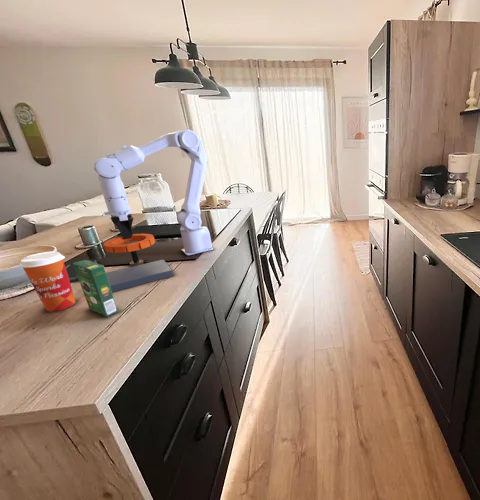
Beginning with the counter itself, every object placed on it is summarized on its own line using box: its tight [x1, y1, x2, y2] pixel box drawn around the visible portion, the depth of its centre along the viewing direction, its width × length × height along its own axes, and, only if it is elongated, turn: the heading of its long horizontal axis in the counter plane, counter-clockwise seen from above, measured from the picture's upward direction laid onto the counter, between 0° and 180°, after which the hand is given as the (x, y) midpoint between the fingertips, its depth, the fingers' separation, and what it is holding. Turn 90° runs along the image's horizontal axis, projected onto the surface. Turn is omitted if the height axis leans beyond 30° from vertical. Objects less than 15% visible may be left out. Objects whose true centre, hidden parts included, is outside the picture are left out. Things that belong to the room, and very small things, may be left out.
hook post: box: [129, 250, 145, 267], centre depth 99 cm, size 4×4×7 cm
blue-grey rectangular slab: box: [106, 259, 174, 293], centre depth 90 cm, size 16×12×2 cm
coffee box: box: [72, 259, 118, 318], centre depth 70 cm, size 8×3×13 cm, turn 65°
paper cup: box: [19, 250, 76, 312], centre depth 72 cm, size 8×8×14 cm
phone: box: [65, 259, 98, 283], centre depth 93 cm, size 8×1×15 cm
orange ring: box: [103, 233, 156, 254], centre depth 93 cm, size 13×13×2 cm
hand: (127, 237), depth 96 cm, fingers closed on orange ring, 2 cm apart
